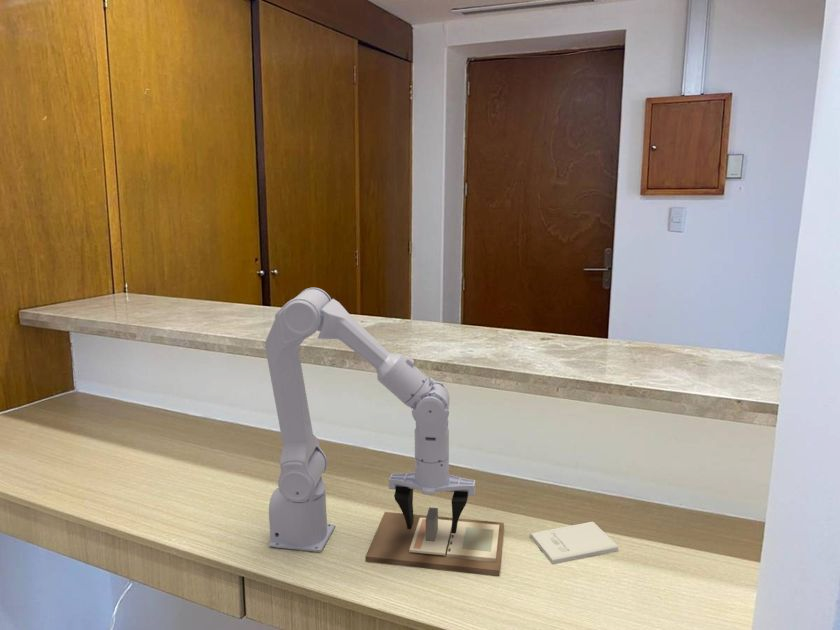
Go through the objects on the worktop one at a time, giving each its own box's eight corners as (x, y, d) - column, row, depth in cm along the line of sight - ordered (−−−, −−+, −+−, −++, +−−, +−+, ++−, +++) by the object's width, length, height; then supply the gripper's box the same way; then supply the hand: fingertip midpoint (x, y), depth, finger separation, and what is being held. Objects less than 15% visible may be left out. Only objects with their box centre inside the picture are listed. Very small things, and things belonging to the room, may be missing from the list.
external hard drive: (617, 554, 108) (551, 567, 104) (591, 528, 116) (529, 539, 112) (618, 545, 107) (552, 558, 104) (592, 520, 115) (529, 531, 112)
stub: (409, 551, 106) (409, 528, 105) (419, 519, 115) (419, 497, 114) (445, 555, 105) (445, 531, 104) (452, 522, 114) (452, 500, 113)
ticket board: (365, 561, 105) (365, 552, 105) (384, 516, 119) (384, 507, 118) (499, 575, 101) (499, 565, 101) (503, 527, 115) (503, 518, 114)
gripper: (384, 463, 104) (385, 537, 107) (472, 469, 101) (471, 545, 104) (393, 444, 110) (394, 515, 114) (476, 450, 108) (475, 522, 111)
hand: (432, 528), depth 109 cm, fingers open, 7 cm apart
